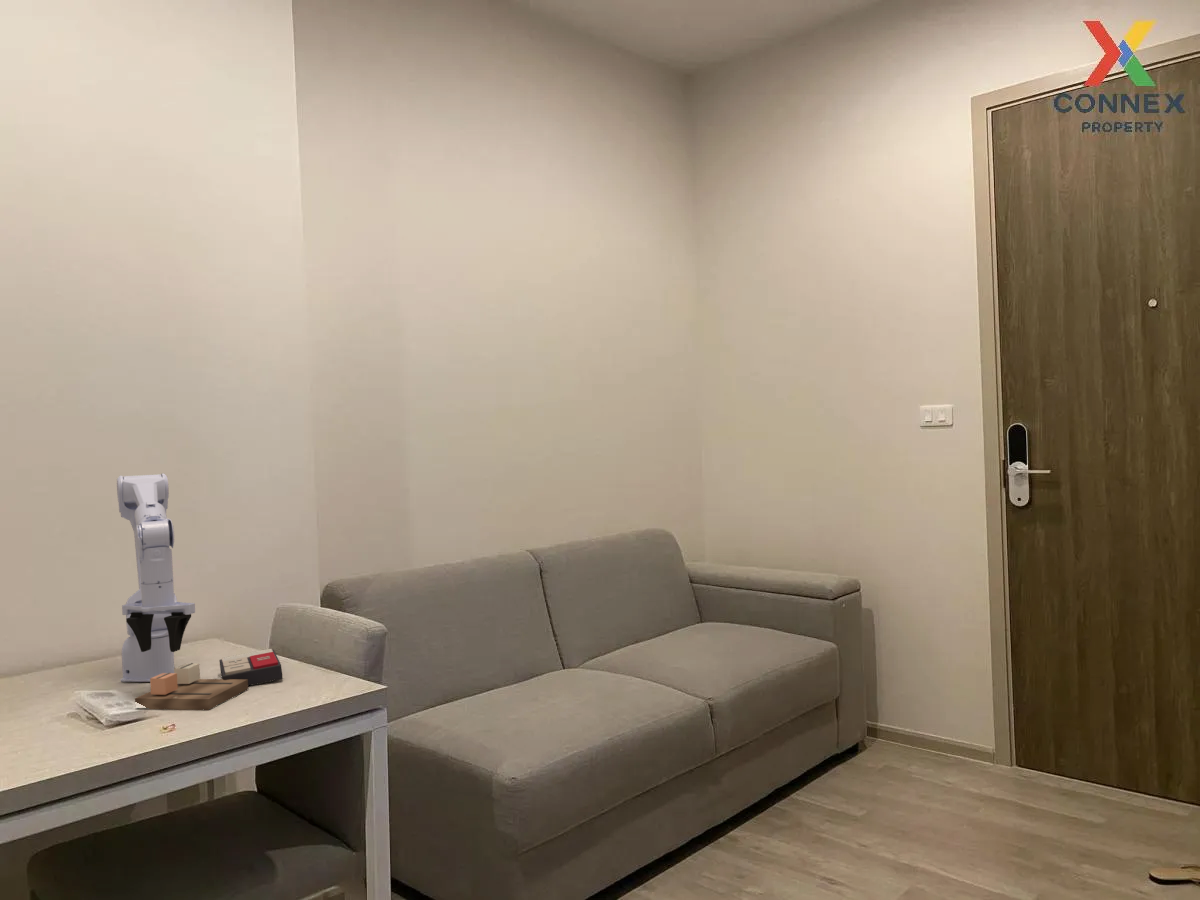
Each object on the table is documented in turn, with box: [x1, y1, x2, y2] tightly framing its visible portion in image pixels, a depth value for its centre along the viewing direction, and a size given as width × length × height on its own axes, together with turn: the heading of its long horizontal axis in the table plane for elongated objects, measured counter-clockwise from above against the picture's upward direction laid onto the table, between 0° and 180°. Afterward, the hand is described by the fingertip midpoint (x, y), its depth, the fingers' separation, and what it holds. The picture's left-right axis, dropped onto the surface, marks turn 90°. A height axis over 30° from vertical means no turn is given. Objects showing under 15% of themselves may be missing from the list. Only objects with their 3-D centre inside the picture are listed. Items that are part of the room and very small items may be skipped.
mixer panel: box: [134, 678, 249, 711], centre depth 172 cm, size 15×13×2 cm
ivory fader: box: [174, 662, 201, 684], centre depth 176 cm, size 3×4×3 cm
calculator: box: [219, 648, 283, 687], centre depth 187 cm, size 11×4×15 cm
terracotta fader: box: [149, 673, 178, 695], centre depth 170 cm, size 3×4×3 cm
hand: (160, 650), depth 177 cm, fingers open, 6 cm apart
